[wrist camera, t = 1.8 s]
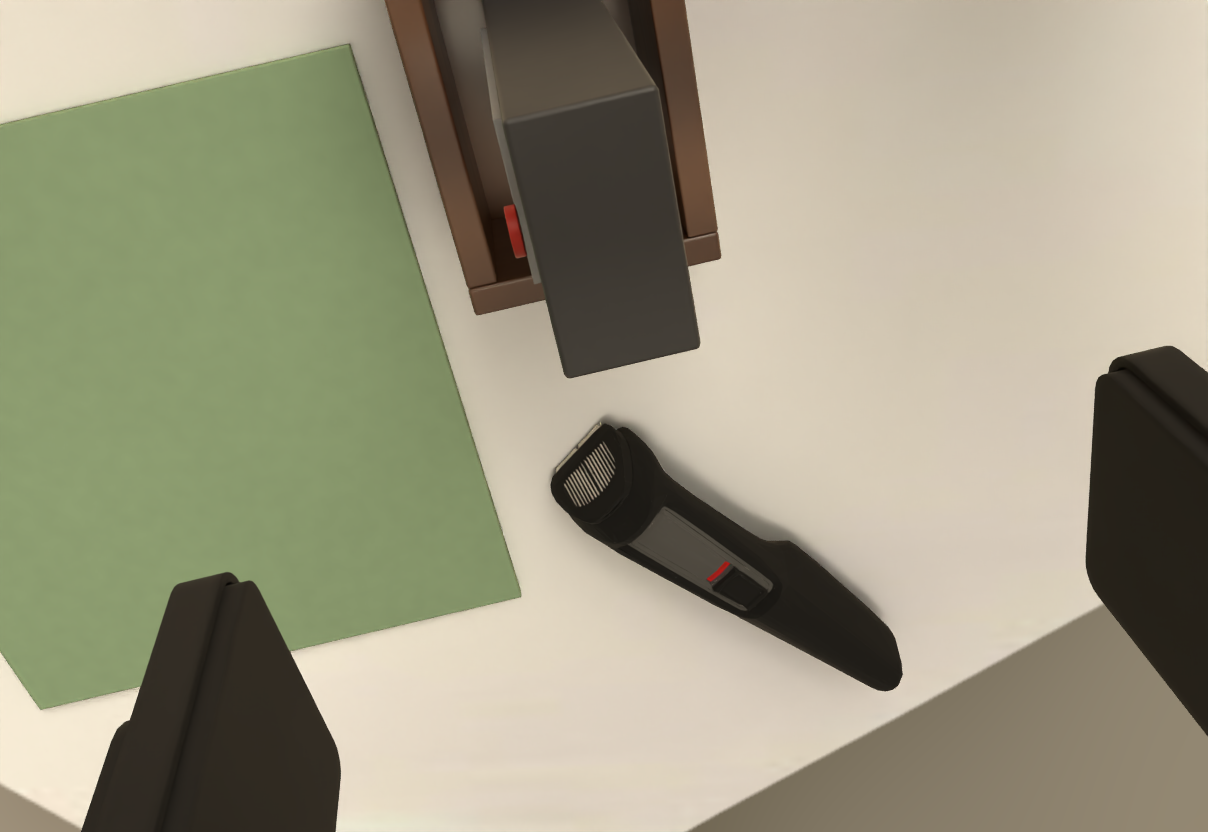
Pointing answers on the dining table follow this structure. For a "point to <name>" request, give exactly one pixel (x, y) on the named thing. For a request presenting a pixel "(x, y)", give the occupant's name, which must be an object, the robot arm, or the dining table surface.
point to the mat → (222, 378)
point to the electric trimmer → (719, 556)
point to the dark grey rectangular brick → (589, 182)
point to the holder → (471, 150)
